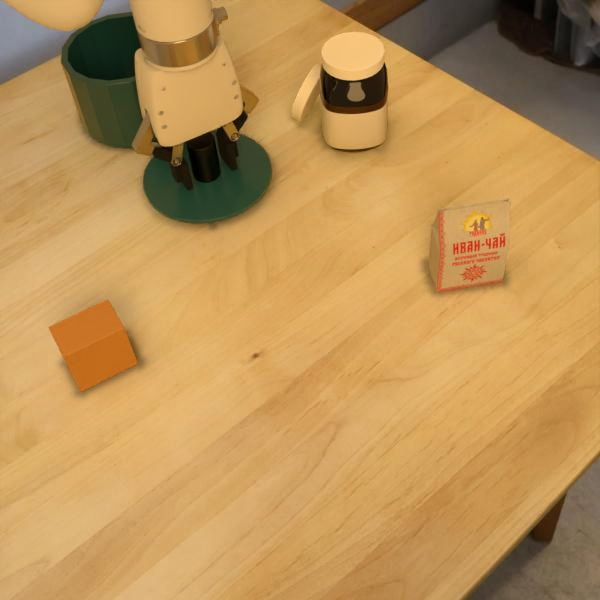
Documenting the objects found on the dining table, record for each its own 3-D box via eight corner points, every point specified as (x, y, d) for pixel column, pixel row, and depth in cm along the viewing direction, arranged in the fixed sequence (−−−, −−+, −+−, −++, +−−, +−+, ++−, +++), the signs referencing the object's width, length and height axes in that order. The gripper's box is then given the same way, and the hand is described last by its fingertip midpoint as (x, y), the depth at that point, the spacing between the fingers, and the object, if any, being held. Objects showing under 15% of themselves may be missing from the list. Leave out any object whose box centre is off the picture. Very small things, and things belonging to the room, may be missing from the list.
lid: (177, 247, 92) (167, 207, 87) (125, 168, 100) (112, 128, 95) (295, 192, 96) (291, 151, 91) (235, 120, 104) (229, 80, 99)
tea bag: (428, 264, 88) (433, 196, 80) (492, 254, 88) (504, 185, 80) (436, 292, 86) (443, 224, 78) (502, 282, 86) (515, 213, 78)
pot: (107, 163, 101) (86, 99, 93) (67, 102, 108) (44, 38, 101) (210, 120, 104) (197, 55, 97) (164, 63, 112) (149, -1, 104)
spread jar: (390, 160, 98) (391, 78, 89) (291, 165, 98) (283, 83, 89) (383, 93, 105) (384, 10, 96) (292, 98, 106) (284, 16, 96)
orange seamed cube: (81, 392, 81) (63, 357, 77) (66, 362, 84) (48, 326, 79) (138, 363, 83) (124, 327, 78) (122, 335, 85) (107, 298, 80)
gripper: (238, -12, 87) (257, 126, 101) (82, 47, 82) (125, 183, 97) (273, 23, 83) (288, 162, 97) (111, 88, 78) (152, 223, 93)
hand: (207, 171), depth 97 cm, fingers open, 4 cm apart
